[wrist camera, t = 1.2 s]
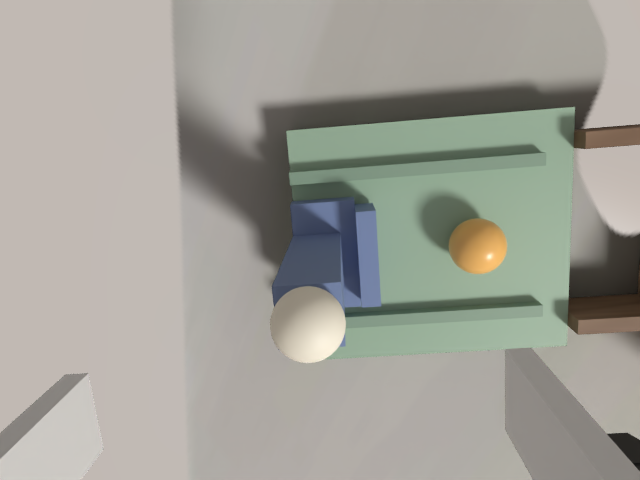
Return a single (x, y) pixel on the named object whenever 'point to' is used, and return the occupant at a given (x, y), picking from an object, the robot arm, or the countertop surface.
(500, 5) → the countertop surface
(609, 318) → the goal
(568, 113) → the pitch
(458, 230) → the ball
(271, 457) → the countertop surface
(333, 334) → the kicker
